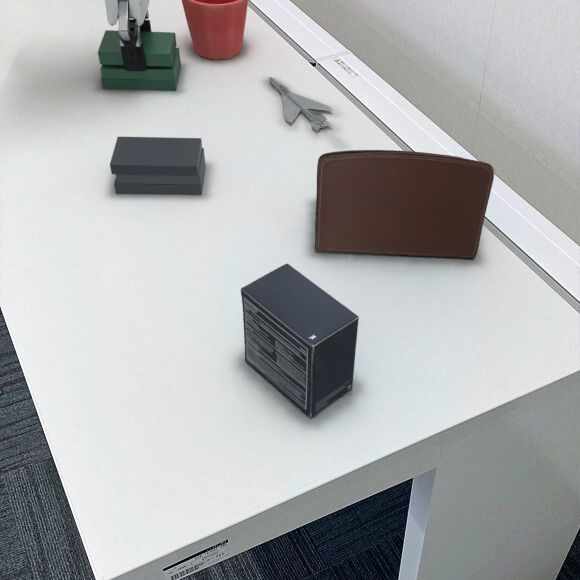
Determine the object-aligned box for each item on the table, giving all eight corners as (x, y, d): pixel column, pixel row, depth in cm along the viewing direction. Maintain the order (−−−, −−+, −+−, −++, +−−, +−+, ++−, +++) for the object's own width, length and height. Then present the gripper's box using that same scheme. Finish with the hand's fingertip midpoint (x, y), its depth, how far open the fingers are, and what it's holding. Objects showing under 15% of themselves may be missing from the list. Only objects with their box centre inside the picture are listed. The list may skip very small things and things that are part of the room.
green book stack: (102, 89, 117) (98, 69, 114) (110, 64, 122) (107, 45, 119) (176, 90, 117) (173, 71, 115) (181, 66, 123) (179, 47, 120)
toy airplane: (290, 75, 123) (290, 61, 121) (363, 139, 111) (364, 125, 109) (247, 86, 119) (247, 72, 118) (317, 153, 108) (318, 139, 106)
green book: (99, 64, 114) (97, 51, 113) (107, 42, 119) (105, 29, 117) (171, 66, 115) (170, 54, 113) (176, 44, 120) (175, 32, 118)
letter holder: (476, 260, 94) (498, 161, 84) (314, 253, 93) (316, 153, 83) (467, 210, 101) (487, 113, 91) (316, 203, 100) (319, 105, 90)
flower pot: (251, 34, 131) (248, -25, 124) (250, 65, 124) (247, 5, 117) (188, 33, 130) (182, -27, 123) (183, 64, 123) (176, 3, 116)
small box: (357, 387, 79) (363, 315, 72) (310, 421, 76) (312, 349, 68) (289, 332, 84) (288, 258, 77) (242, 361, 81) (237, 288, 73)
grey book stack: (115, 194, 99) (109, 164, 96) (123, 165, 104) (117, 136, 100) (201, 195, 100) (198, 166, 97) (205, 166, 104) (202, 137, 101)
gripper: (102, -92, 110) (122, 31, 123) (79, -44, 98) (104, 85, 111) (156, -89, 110) (170, 32, 123) (139, -42, 99) (157, 87, 112)
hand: (139, 56), depth 117 cm, fingers closed on green book, 7 cm apart
